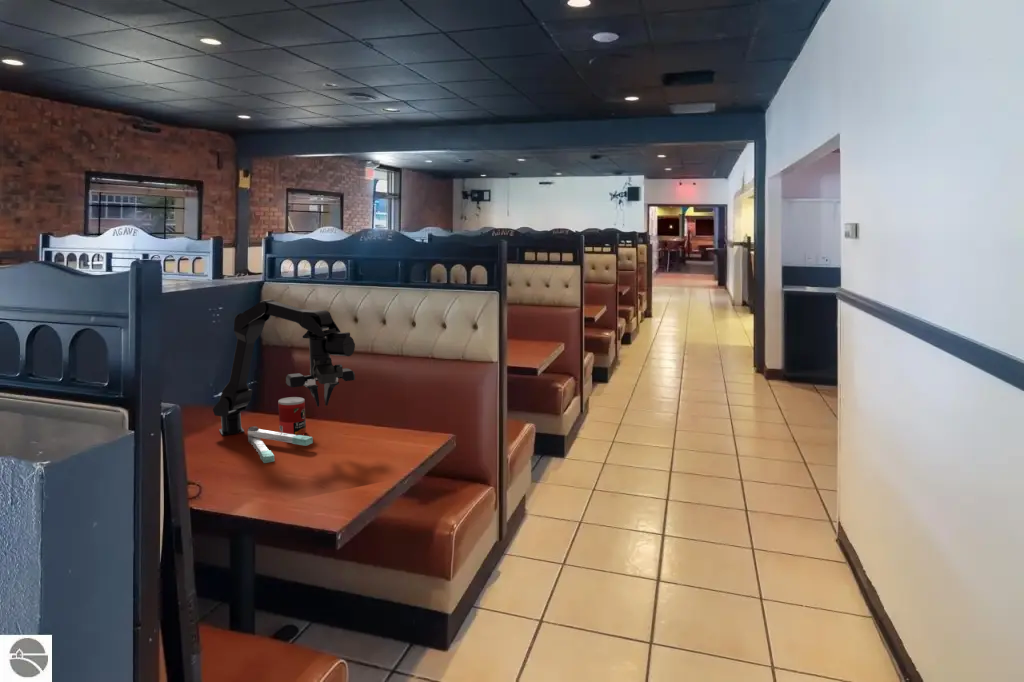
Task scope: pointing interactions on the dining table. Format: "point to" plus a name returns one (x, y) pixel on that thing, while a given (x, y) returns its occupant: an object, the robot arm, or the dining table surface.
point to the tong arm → (279, 436)
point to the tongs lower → (261, 449)
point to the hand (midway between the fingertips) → (322, 406)
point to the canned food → (292, 415)
